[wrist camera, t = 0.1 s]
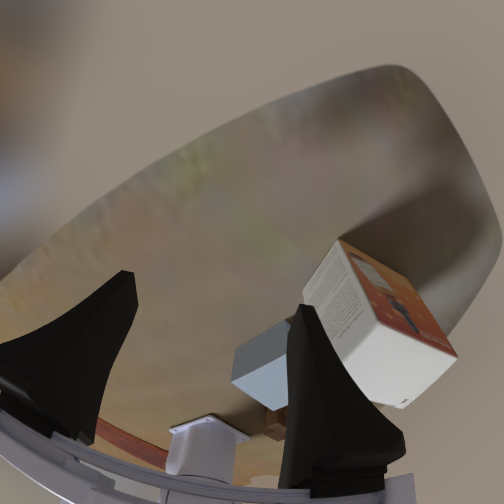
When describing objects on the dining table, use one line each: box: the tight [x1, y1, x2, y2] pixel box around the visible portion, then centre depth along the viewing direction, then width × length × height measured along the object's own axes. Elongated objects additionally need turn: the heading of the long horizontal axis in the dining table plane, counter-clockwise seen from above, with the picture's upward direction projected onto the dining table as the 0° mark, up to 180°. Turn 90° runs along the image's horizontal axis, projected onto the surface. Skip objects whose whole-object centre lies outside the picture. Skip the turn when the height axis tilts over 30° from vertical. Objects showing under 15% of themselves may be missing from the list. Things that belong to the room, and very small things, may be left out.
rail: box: [265, 401, 373, 441], centre depth 28 cm, size 16×4×4 cm, turn 131°
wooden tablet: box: [95, 417, 169, 470], centre depth 41 cm, size 27×10×2 cm, turn 52°
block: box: [231, 320, 291, 411], centre depth 25 cm, size 6×6×4 cm
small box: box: [303, 239, 458, 409], centre depth 19 cm, size 8×6×10 cm
